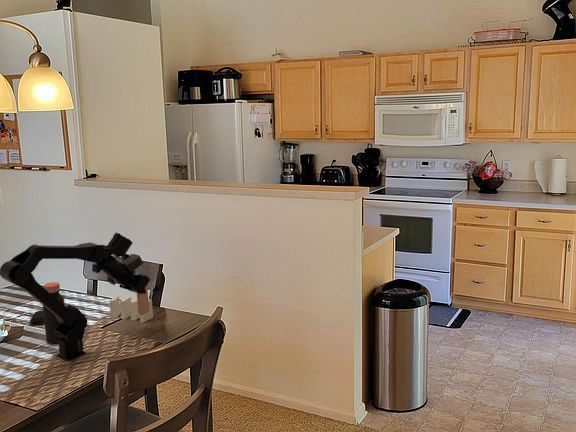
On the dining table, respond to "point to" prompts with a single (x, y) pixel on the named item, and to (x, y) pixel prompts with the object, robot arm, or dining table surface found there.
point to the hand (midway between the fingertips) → (143, 291)
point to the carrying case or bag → (37, 318)
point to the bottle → (49, 317)
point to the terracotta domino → (143, 302)
